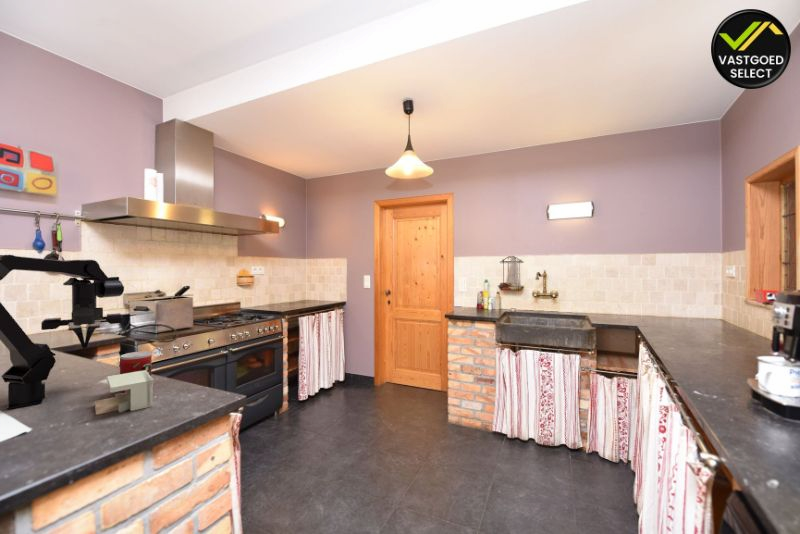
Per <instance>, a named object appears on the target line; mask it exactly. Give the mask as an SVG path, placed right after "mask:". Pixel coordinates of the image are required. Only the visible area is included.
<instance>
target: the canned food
mask: <svg viewBox="0 0 800 534" xmlns="http://www.w3.org/2000/svg"><path fill="white" fill-rule="evenodd" d="M152 361H153V358H152V352H151V351H146V350H145V351H133V352H127V353H125V354H121V355H120V357H119V374H125V373H131V372H137V371H143V370H146V371H147V372H148V373H149V375H150V376H151V377H152V373H153V372H152V371H153V370H152V367H153V366H152V363H153V362H152ZM120 393H125V390H122V391H120Z"/></svg>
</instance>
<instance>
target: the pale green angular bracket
mask: <svg viewBox="0 0 800 534" xmlns="http://www.w3.org/2000/svg"><path fill="white" fill-rule="evenodd" d="M106 377H107V378H106V381H107V384H108V387H109V390H110V393H115V394H114V397H117V396H122V395H127V394H130V401H127V402H124V403H121V404H119V410H118V413H123V412H126V411H128V410H130V412H134V411H137V410H141V409H145V408H150V407H153V385H154V379H153V378H152V375H151V376H150V375H149V373H148V372H147V371H146V370H143V371H137V372H131V373H125V374H120V373H119V374H114V375H108V376H106ZM122 390H125V393H121V391H122ZM117 392H120V393H117Z"/></svg>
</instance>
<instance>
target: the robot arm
mask: <svg viewBox="0 0 800 534" xmlns="http://www.w3.org/2000/svg"><path fill="white" fill-rule="evenodd" d="M12 271H27V272H41V273H42V272H44V273H55V274H60V275H63V276H66V277H70V278H68V279H67V280H65V281H64V282H63V284H62V285H63V286H71V319H69V318H68V319H62V317H52V318H44V319H43V320H42V321H41V326H40V327H41V331H46V330H57V329H58V328H59V327H63V326H67V327H68V329H67V330H68V331H73V332H74V333H75V336H76V337H77V339H78V341H79V343H80V346H81V348H82V349H83V350H84V349H87V348H88V345H89V342H90V339H91V337H92V335H93V333H94V332H95V331H96V329H100V328H101V323H107V324H108V323H109V324H110V325H114V324H123V323H124V317H123V316H124V315H123V314H121V313H117V312H116V313H106V316H104V307H97V298H100V299H102V298H103V299H104V298H115V297H117V298H118V297H120V296H122V295H123V294H124V291H125V286H124V284H123V282H122V281H121V280H120V277H119V276H110V277H109V276H107V274H106V273H105V272H104V271H103V270H102V269H101V266H100V264H99V263H98V261H97V260H94V259H68V260H66V259H65V260H60V259H50V258H49V259H48V258H40V257H38V258H37V257H27V256H18V255H14V254H0V281H2V280H3V279H4V278H5V277H7V275H9V273H10V272H12ZM78 278H79V279H78ZM92 281H93V282H92ZM82 325H87V327H86V333H85V338H84V332H83V326H82ZM0 341H1V342H2V344H3V345H4V346H5V347H6V348H7V350H8V351H9V360H10V363H11V364H12V366H10V368H8V369H7V370H6V371H5V372H4V373H3V374H2V375H1V378H2V380H3V382H4V383H8V387H7V388H8V389H7V391H8V396H7V397H8V398H7V403H8V404H7V406H6V410H11V409H16V408H21V407H28V406H32V405H39V404H42V403H43V401H44V400H45V399H46V382H43V381H46V380H47V379H48V377H49V375H50V373H51V370H52V369H53V368H54V366H55V363H57V360H56V357H55V356H56V353H54V352H53V351H52V350H51V348H50V346H49V345H48V344H47V343H34V342H33V341H32V340H31V338H30V337H29V336H28V335H27V333H26V332H25V331H24V330H23V328H22V327H21V326H20V325H19V323H18V322H17V321H16V320H15V319H14V317H13V315H12V314H10V312H9V311H8V310H7V308H6V307H5V306H4V305H3V303H2V302H1V301H0Z"/></svg>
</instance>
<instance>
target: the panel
mask: <svg viewBox="0 0 800 534" xmlns="http://www.w3.org/2000/svg"><path fill="white" fill-rule="evenodd" d="M127 401H130V394H127V395H122V396H117V397H115V396H113V397H108V398H103V399H98V400H95V401H94V409H95V410H94V411H95V415H101V414H104V413H106V414H107V413H111V412H114V411H119V404H121V403H124V402H127Z"/></svg>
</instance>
